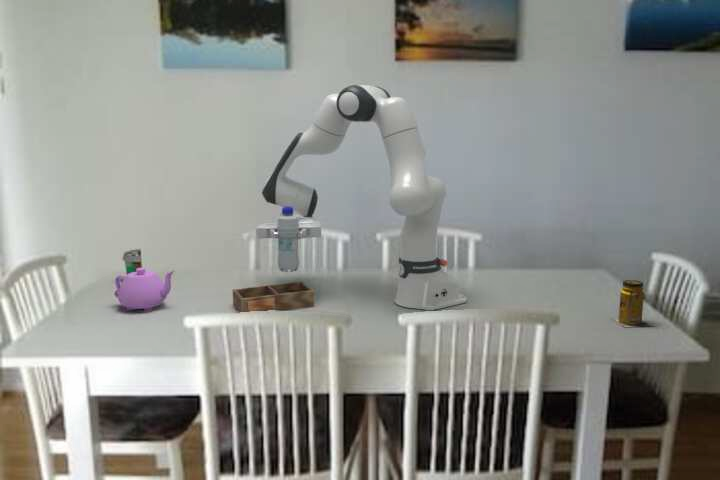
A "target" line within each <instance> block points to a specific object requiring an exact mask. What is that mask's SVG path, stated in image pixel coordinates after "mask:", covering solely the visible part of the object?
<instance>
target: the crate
mask: <svg viewBox="0 0 720 480" xmlns="http://www.w3.org/2000/svg"><path fill="white" fill-rule="evenodd" d="M232 305H233V306H235V309H236V311H237V312H238V311H239V312H250V311H268V310H283V311H289V310H290V311H291V310H297V309H304V308H311V307H315V290H314V289H312V288H311V287H310V286H309V285H308V284H306V283H304V282H303V281H294V282H293V281H292V282H286V283H277V284H268V285H260V286H250V287H240V288H234V289H232ZM239 312H238V313H239Z"/></svg>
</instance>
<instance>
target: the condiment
mask: <svg viewBox="0 0 720 480" xmlns="http://www.w3.org/2000/svg"><path fill="white" fill-rule="evenodd" d="M643 286H644V283H643V281H640V280H635V279H625V280H623V281H622V289H621V290H620V296H619V297H620V298H619V309H618V318H613V321H615V322H616V323H618V324H619V325H620V326H623V327H624V328H638V327H639V328H640V327H654V324H652V323H650V322H648V321H647V320H645V319H643V311H644V309H643V308H644V300H645V299H644V298H645V297H644V296H645V293H644V287H643Z"/></svg>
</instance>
